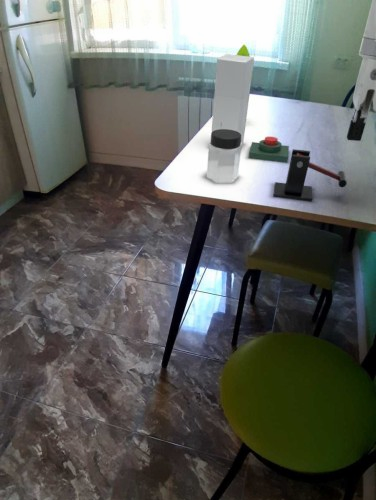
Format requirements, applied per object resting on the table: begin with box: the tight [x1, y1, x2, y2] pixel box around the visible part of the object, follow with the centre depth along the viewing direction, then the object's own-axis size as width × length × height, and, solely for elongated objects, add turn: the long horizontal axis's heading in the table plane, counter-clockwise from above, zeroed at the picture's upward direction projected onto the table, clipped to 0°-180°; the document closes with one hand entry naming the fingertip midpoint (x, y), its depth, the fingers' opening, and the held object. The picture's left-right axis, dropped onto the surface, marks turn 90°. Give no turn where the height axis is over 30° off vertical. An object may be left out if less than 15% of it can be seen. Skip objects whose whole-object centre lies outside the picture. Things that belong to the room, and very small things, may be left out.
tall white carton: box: [210, 53, 255, 146], centre depth 128 cm, size 9×9×25 cm
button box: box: [248, 139, 290, 164], centre depth 130 cm, size 12×10×4 cm
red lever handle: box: [296, 153, 348, 188], centre depth 106 cm, size 14×6×2 cm, turn 79°
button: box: [264, 136, 279, 146], centre depth 129 cm, size 4×4×2 cm
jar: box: [206, 129, 243, 184], centre depth 113 cm, size 9×8×12 cm
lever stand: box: [272, 148, 313, 202], centre depth 108 cm, size 10×8×11 cm
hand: (353, 139), depth 100 cm, fingers closed
